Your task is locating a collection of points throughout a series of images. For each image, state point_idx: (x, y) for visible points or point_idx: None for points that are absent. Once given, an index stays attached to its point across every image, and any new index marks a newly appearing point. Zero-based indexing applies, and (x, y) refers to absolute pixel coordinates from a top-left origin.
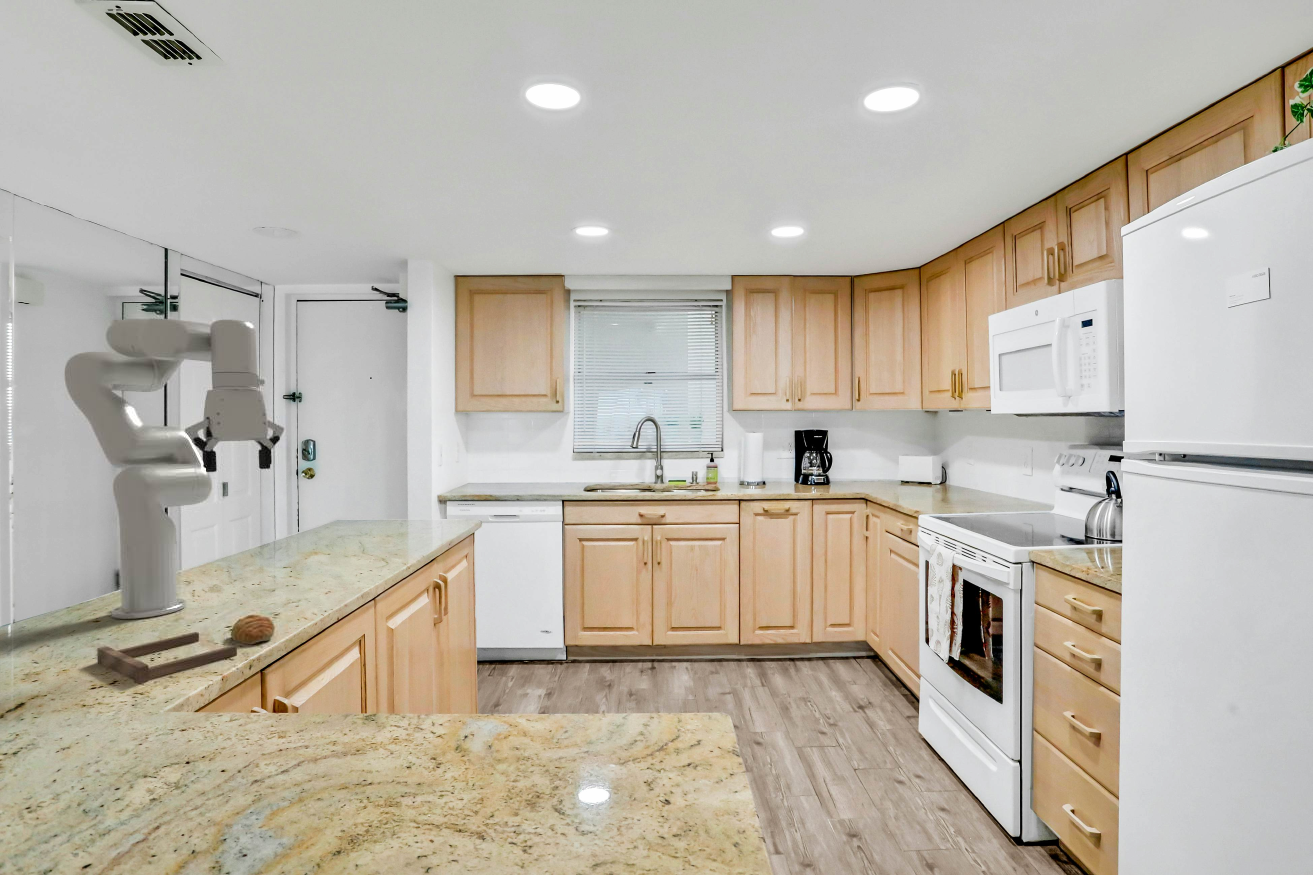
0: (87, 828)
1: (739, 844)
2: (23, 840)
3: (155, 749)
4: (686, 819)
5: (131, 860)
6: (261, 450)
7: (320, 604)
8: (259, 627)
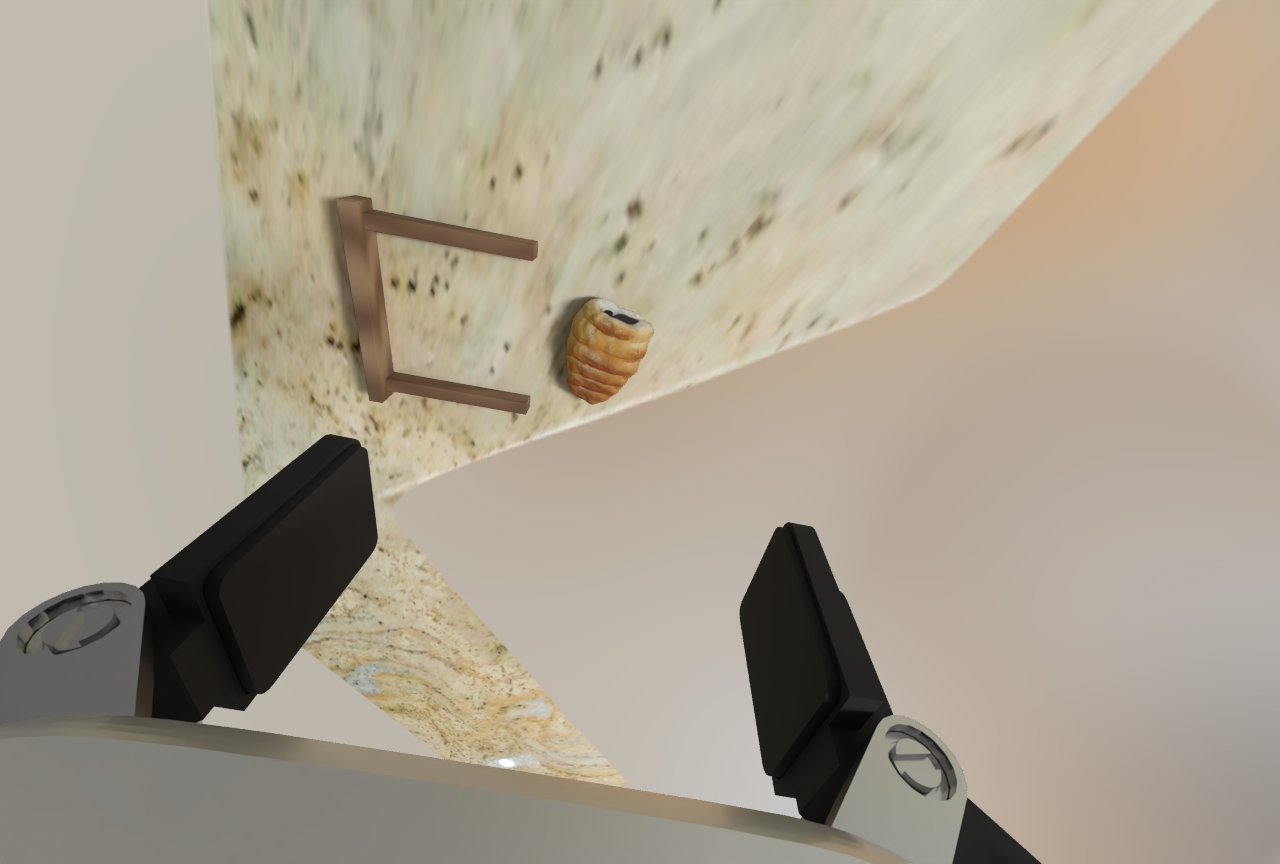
0: None
1: None
2: None
3: None
4: None
5: (309, 650)
6: (799, 727)
7: (872, 253)
8: (594, 385)
